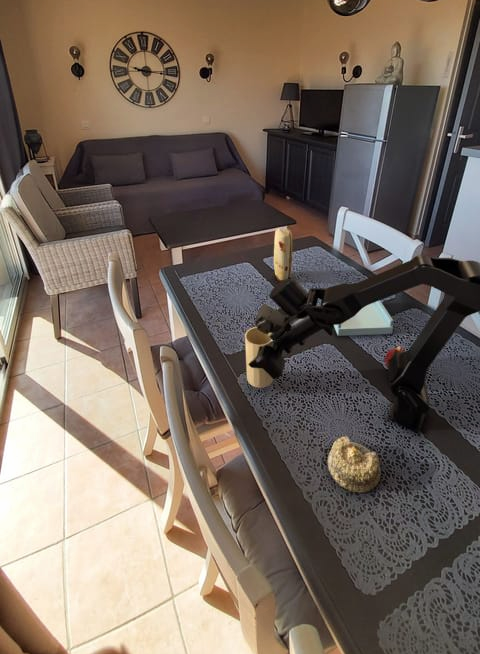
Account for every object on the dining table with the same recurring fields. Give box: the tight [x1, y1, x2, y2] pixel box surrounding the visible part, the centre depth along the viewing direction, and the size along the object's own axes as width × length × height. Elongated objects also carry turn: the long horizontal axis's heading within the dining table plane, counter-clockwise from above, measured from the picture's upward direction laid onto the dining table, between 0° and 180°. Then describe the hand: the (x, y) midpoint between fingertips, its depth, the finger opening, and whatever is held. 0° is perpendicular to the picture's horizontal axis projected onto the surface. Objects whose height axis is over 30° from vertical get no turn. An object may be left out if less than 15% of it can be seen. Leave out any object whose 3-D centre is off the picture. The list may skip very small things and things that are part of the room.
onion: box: [384, 345, 406, 369], centre depth 91 cm, size 6×6×8 cm
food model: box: [273, 227, 293, 282], centre depth 134 cm, size 10×7×20 cm
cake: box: [327, 435, 382, 494], centre depth 69 cm, size 10×10×5 cm
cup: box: [244, 326, 274, 389], centre depth 87 cm, size 7×7×13 cm
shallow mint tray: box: [334, 300, 394, 337], centre depth 113 cm, size 16×16×4 cm
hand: (254, 355), depth 88 cm, fingers closed on cup, 7 cm apart
